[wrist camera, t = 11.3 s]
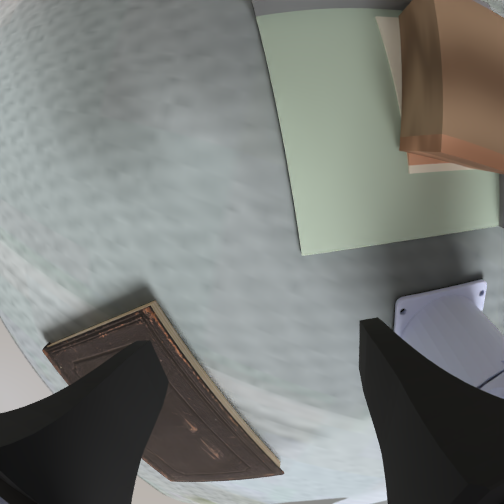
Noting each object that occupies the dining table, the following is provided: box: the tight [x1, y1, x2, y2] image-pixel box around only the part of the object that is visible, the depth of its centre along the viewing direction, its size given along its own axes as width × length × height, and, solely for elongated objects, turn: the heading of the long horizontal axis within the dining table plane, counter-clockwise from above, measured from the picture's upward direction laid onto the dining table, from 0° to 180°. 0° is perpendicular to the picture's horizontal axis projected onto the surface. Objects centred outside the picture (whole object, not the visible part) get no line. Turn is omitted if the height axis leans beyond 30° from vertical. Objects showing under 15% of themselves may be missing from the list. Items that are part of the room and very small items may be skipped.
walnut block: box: [398, 0, 504, 174], centre depth 10 cm, size 9×5×5 cm, turn 177°
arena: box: [252, 0, 504, 256], centre depth 13 cm, size 16×16×2 cm
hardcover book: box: [42, 300, 284, 482], centre depth 24 cm, size 16×23×2 cm
